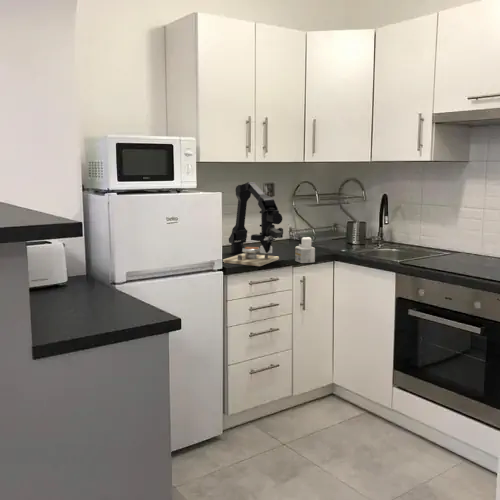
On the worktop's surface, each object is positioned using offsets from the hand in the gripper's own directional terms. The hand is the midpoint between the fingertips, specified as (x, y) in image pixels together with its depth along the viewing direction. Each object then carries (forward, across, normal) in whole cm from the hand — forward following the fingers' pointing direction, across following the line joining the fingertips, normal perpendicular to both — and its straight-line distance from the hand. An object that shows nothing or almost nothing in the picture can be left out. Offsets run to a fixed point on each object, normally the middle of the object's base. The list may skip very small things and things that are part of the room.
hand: (267, 252), depth 286 cm
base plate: (+5, -2, +9) cm, 11 cm away
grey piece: (+1, 0, +7) cm, 7 cm away
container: (+5, +15, -13) cm, 21 cm away
